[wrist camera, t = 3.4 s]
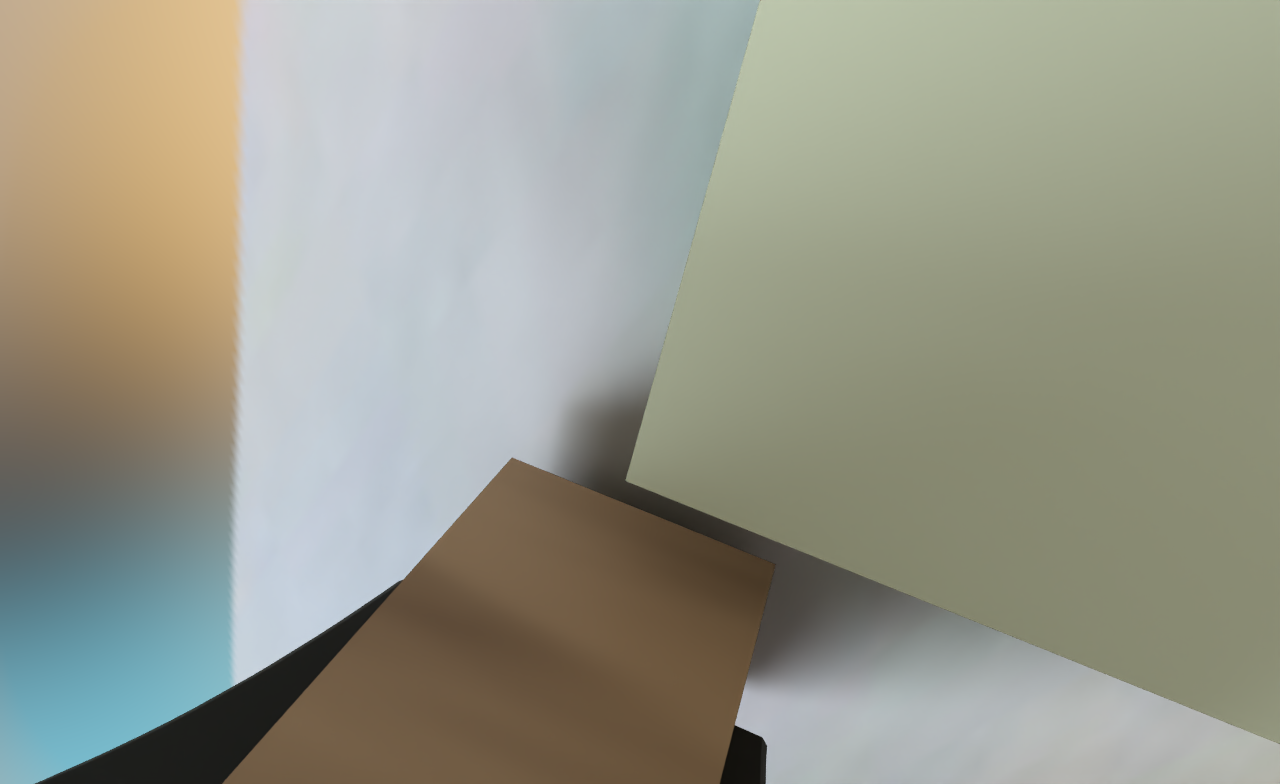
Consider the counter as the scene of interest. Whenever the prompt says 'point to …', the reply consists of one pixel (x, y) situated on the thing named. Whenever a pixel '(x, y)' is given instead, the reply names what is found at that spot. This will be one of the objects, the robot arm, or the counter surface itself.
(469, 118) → the counter surface
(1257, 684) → the sage block
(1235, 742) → the counter surface
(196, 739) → the robot arm
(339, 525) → the counter surface
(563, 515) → the walnut block
